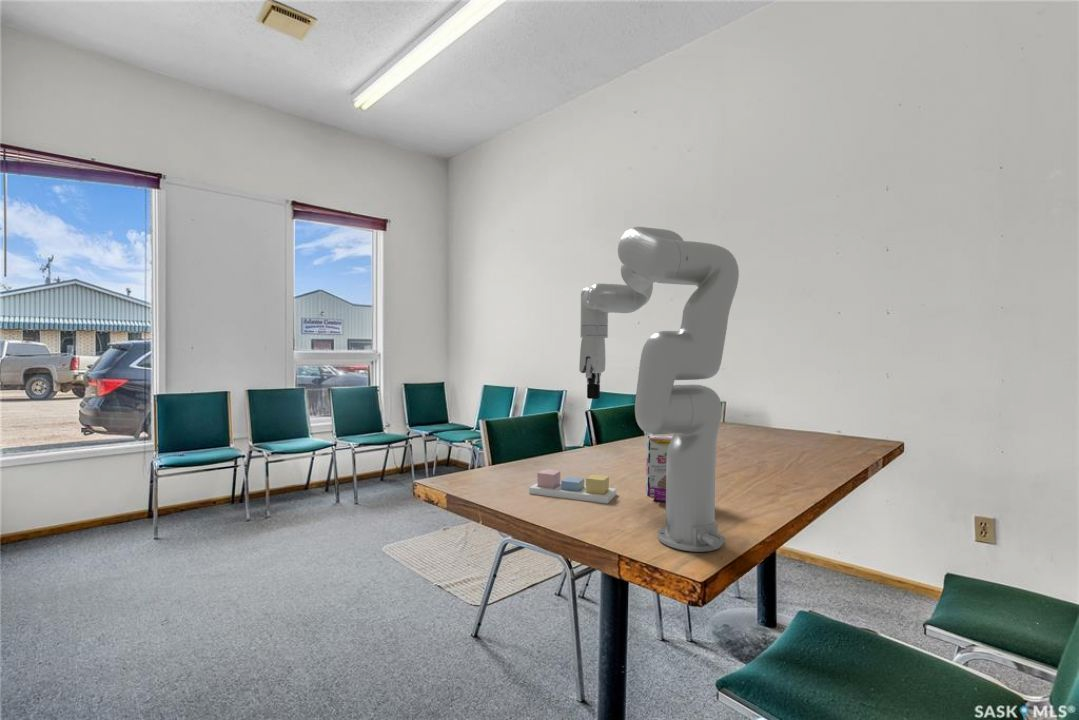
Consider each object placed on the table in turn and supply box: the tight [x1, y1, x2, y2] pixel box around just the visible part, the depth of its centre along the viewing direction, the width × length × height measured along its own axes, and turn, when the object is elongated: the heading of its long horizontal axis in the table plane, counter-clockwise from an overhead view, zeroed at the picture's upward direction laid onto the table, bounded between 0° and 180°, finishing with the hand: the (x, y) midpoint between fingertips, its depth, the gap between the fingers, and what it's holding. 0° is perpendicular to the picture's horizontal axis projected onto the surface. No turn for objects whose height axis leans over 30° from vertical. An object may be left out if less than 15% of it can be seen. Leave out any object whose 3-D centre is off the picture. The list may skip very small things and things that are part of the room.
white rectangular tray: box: [528, 481, 617, 504], centre depth 131 cm, size 21×8×3 cm, turn 67°
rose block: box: [536, 469, 561, 489], centre depth 134 cm, size 5×5×5 cm
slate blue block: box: [560, 476, 585, 492], centre depth 131 cm, size 5×5×5 cm
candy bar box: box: [645, 434, 673, 503], centre depth 131 cm, size 11×5×16 cm, turn 84°
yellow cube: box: [585, 474, 610, 495], centre depth 129 cm, size 5×5×5 cm
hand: (593, 398), depth 142 cm, fingers closed
